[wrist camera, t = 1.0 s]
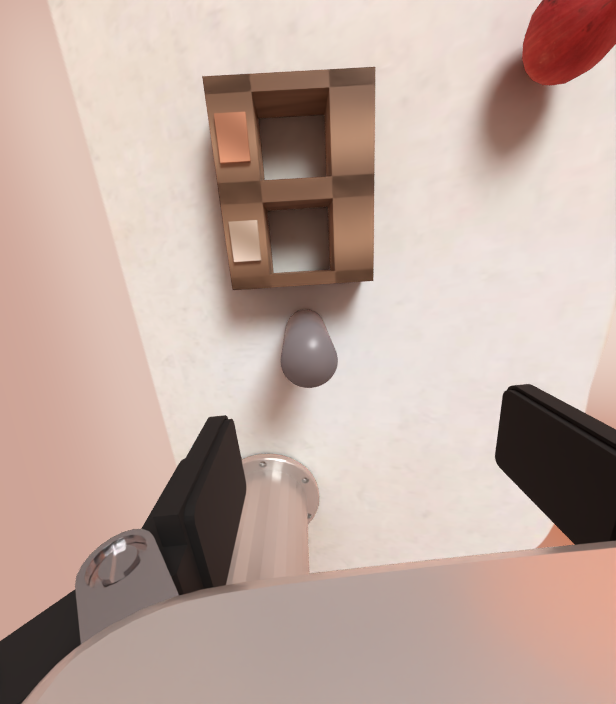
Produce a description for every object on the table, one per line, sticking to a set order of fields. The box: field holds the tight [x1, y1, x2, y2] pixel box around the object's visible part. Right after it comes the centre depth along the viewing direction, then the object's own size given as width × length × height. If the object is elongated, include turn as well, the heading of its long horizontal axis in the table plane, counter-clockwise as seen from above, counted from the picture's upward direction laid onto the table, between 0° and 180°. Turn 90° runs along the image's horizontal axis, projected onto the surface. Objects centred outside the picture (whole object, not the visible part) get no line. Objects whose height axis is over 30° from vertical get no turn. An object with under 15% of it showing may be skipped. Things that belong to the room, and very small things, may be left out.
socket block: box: [202, 67, 375, 290], centre depth 24 cm, size 14×12×4 cm
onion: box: [522, 0, 616, 85], centre depth 19 cm, size 6×6×8 cm
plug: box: [281, 310, 338, 388], centre depth 25 cm, size 4×4×10 cm
